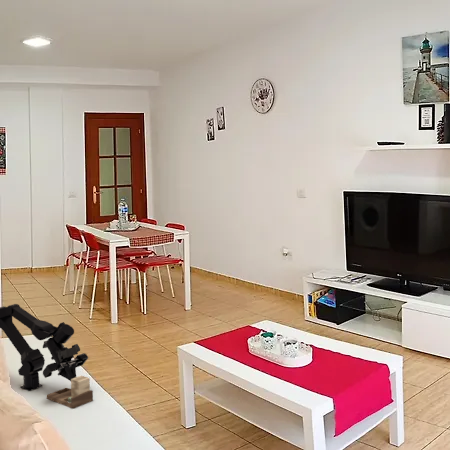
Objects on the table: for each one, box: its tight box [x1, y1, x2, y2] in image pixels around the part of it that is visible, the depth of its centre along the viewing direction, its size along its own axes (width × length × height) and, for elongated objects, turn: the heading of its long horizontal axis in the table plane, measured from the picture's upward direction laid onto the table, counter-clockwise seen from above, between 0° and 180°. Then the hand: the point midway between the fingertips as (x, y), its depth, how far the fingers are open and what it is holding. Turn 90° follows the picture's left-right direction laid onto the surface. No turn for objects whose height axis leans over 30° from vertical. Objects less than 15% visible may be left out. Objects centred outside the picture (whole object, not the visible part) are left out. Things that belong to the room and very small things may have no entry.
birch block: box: [70, 375, 91, 397], centre depth 226 cm, size 5×5×8 cm
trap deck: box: [46, 387, 94, 409], centre depth 228 cm, size 16×10×4 cm, turn 53°
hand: (75, 382), depth 228 cm, fingers closed, pressing on birch block
